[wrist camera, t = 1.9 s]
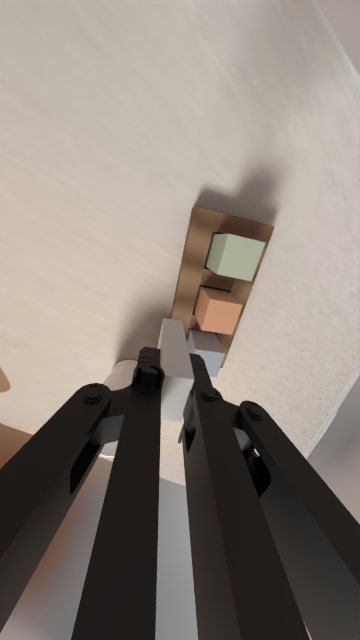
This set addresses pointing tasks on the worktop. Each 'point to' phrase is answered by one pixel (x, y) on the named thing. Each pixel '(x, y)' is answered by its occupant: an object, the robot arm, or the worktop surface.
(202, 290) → the terracotta toy cube
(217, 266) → the sage green block
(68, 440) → the robot arm
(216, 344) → the blue-gray block
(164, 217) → the worktop surface
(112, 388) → the jar
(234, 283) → the brown board
